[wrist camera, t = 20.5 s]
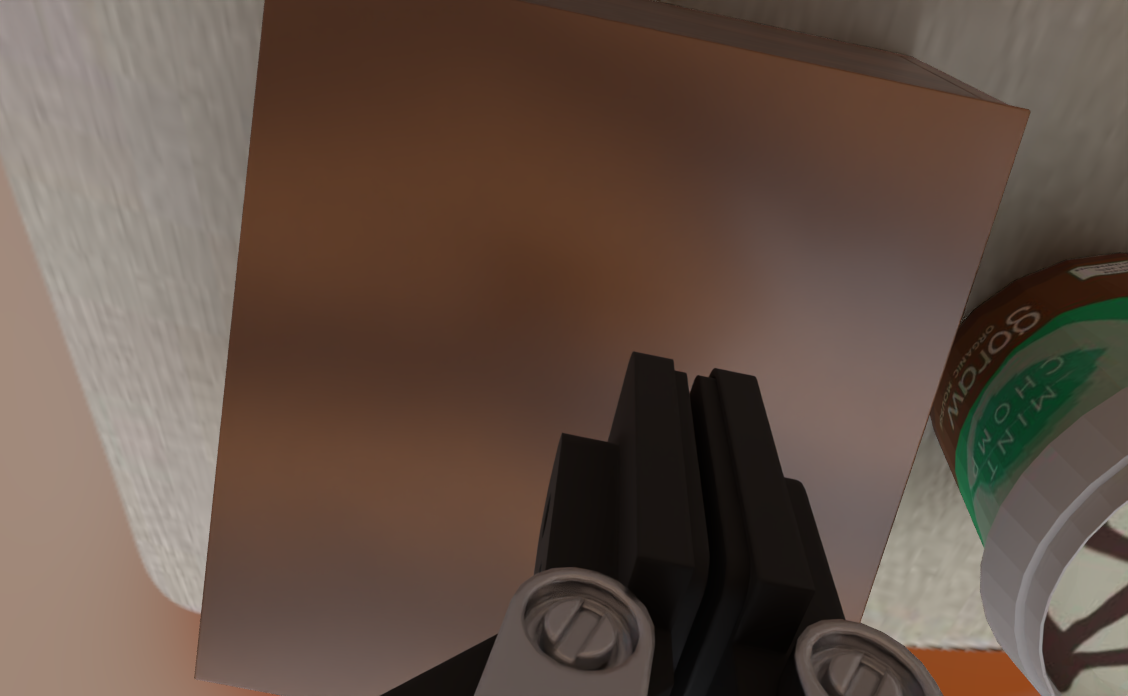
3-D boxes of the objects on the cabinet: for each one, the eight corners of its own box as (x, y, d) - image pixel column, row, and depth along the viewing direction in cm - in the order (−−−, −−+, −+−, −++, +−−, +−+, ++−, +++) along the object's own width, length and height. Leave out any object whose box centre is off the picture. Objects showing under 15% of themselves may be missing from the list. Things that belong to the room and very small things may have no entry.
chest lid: (795, 770, 21) (803, 795, 20) (208, 659, 20) (193, 679, 20) (1011, 110, 17) (1032, 109, 16) (284, -46, 16) (269, -54, 16)
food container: (983, 170, 24) (1188, 318, 15) (1184, 210, 24) (1506, 381, 15) (841, 495, 30) (930, 739, 21) (1003, 526, 30) (1160, 781, 21)
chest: (746, 495, 30) (774, 634, 24) (341, 415, 30) (271, 537, 24) (914, 56, 23) (1012, 106, 17) (375, -60, 22) (285, -51, 16)
